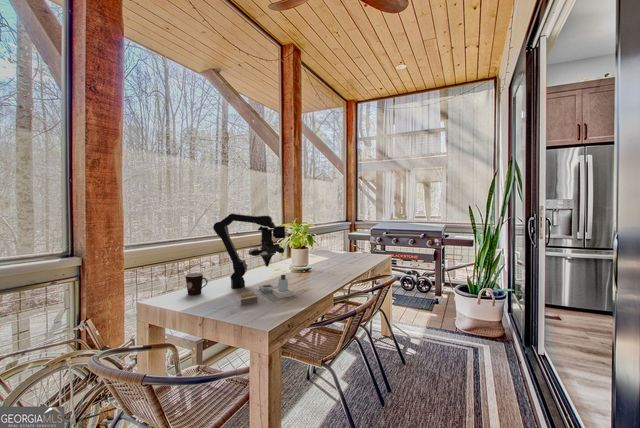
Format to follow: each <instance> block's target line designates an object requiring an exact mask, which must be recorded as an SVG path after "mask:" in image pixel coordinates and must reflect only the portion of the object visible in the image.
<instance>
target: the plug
mask: <svg viewBox="0 0 640 428" xmlns="http://www.w3.org/2000/svg"><path fill="white" fill-rule="evenodd" d="M288 282H289V280H288V278H286V274H281V275H280V278H278V286H279V291H280V292H285V291H288V288H289V286H288V285H289V283H288Z"/></svg>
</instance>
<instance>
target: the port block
mask: <svg viewBox="0 0 640 428" xmlns="http://www.w3.org/2000/svg"><path fill="white" fill-rule="evenodd" d="M273 294H274V295H275V296H277V297H278V298H284V297H289V296H294V294H295V290H293V289H291V288H290V287H288V291H285V292H280V291H279V288H278V289H273Z"/></svg>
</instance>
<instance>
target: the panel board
mask: <svg viewBox="0 0 640 428" xmlns="http://www.w3.org/2000/svg"><path fill="white" fill-rule="evenodd" d="M274 287H275V289H278V288H279V285H277V286H274ZM255 291H256V292H257V293H258V294H259V295H262V296H264V297H265V298H266V299H267V300H269V301H270V302H276V301H282V300H288V299H292V298H298V296H299V295H297V294H295V293H294V296H289V297H284V298H278V297H277V296H275V295H274V294H273V292H269V293H262V292H261V291H259V288H258V289H255Z"/></svg>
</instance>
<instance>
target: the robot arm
mask: <svg viewBox="0 0 640 428" xmlns="http://www.w3.org/2000/svg"><path fill="white" fill-rule="evenodd" d="M233 222H240V223H241V222H242V223H250V224H251V223H253V224H255V225H259V228H257V231H261V233H260V234H261V240H260V242H261V247H260V249H258V248H249V250H248V255H250V256H252V257H253V256H261V259H262V260H263V263H264V265H265V267H266V268H267V267H269V264H270V262H271V259H272V257H273V256H275V255H276V253H279V254H284V253H285V248H284V247H282V246H280V244H279V243H275V244H274V240H273V238H274V239H286V236H287V235H286V226H285V225H281V226H276V224H275V223H274V222H273V218H272V217H271V216H270V215H256V216H255V215H249V214H240V213H239V214H238V213H233V212H232V213H230V214H229V215H228V216H225V218H223V219H221V221H217V222H215V223H214V224H213V226H212V228H213V231H214V232H215V233H216V235H217V236H218V237H219V239H220V240H221V241H222V242H223V245H224V247H225V250H226V252H227V254H228V256H229V257H230V259H231V262H232V269H233V271H234V272H233V273H232V274H231V275H230V276H229V277H230V288H231V289H233V290H238V289H242V288H245V287H246V284H245V283H246V280H245V278H244V276H245V274H246V273H247V271H248V264H247V263H246V260H245V259H243V260H242V259H241V257H240V256H239V254H238V252H237V250H236V247H235V244H234V243H233V241H232V239H231V236H230V232H229V228H228V227H229V226H230V225H231V224H232V223H233Z"/></svg>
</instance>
